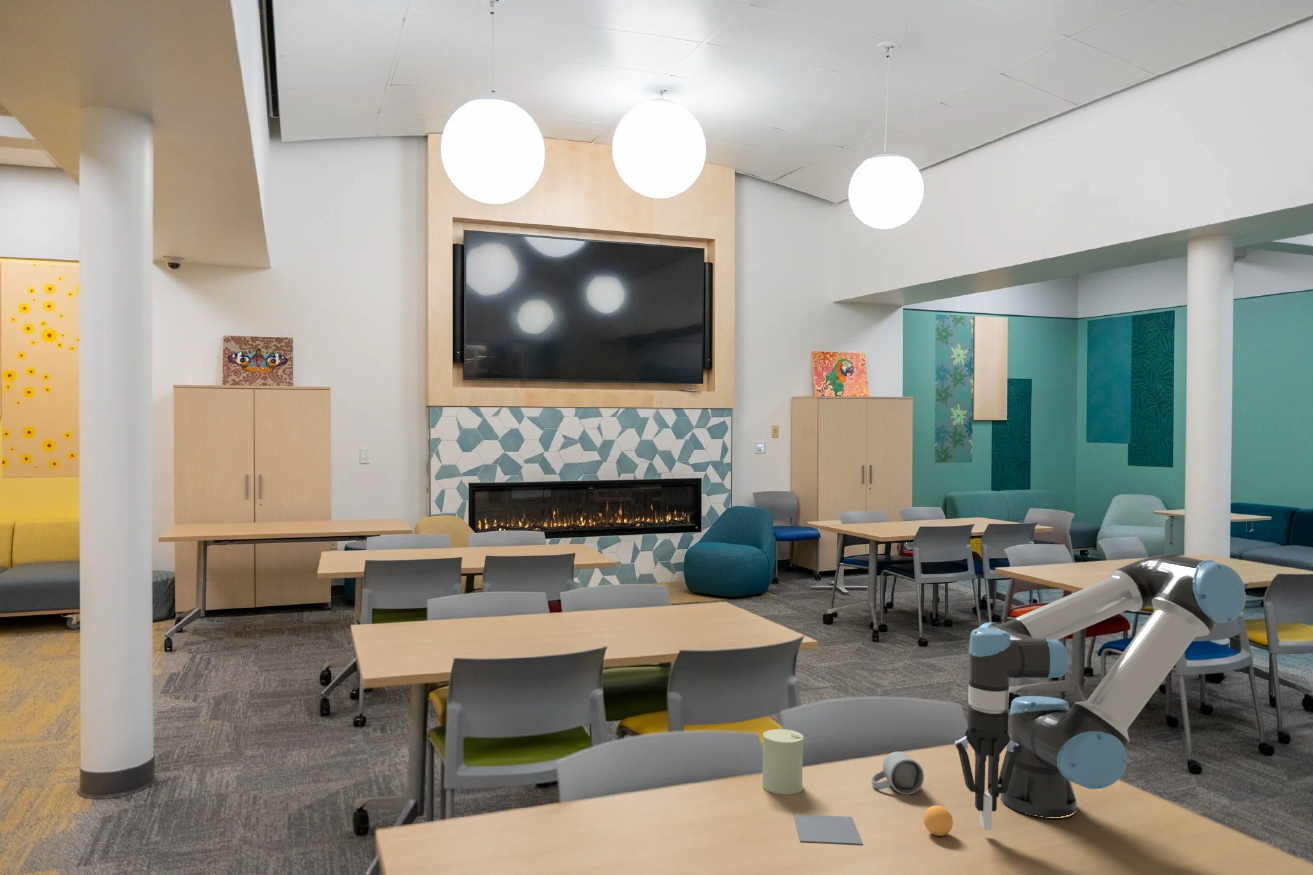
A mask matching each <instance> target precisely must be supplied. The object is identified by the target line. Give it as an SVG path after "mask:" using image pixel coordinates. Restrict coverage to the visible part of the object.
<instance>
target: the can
mask: <svg viewBox="0 0 1313 875" xmlns="http://www.w3.org/2000/svg"><path fill="white" fill-rule="evenodd" d="M762 739H763V740H762V745H763V746H762V748H763V749H762V781H761V787H762V788H763V789H764V790H765V791H767V792H770V793H772V794H776V795H784V796H785V795H787V796H788V795H795V794H799V793H801V792H802V790H803V789H804V786H803V763H804V762H803V758H804V740H805V738H804V735H803V734H802V733H800V732H798V731H795V730H792V729H786V728H773V729H768V730H766V731H765V730H764V732H763V733H762Z"/></svg>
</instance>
